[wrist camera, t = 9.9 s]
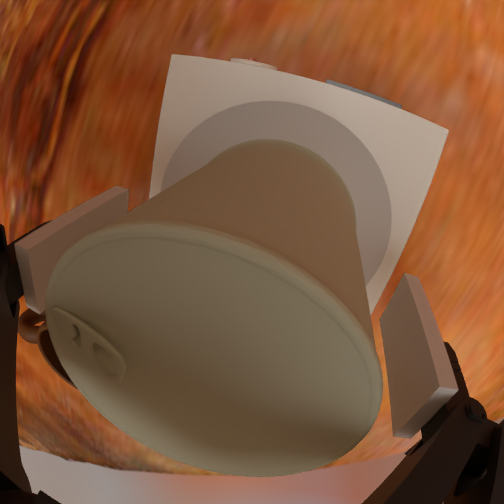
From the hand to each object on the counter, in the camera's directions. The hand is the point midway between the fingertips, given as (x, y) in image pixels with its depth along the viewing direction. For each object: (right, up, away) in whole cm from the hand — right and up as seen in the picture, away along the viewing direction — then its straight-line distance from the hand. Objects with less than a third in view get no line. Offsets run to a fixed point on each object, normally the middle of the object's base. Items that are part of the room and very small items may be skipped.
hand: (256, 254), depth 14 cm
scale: (+2, +4, +8) cm, 9 cm away
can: (+1, +2, +3) cm, 4 cm away
